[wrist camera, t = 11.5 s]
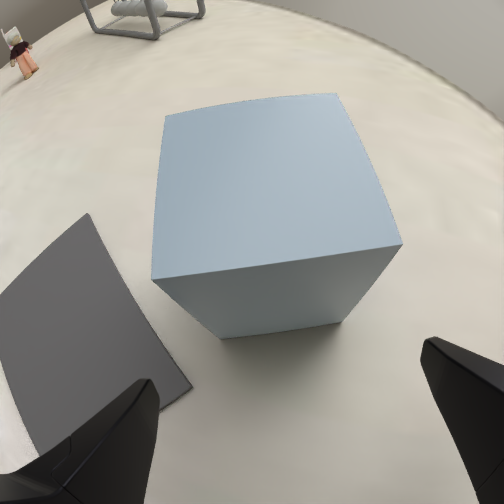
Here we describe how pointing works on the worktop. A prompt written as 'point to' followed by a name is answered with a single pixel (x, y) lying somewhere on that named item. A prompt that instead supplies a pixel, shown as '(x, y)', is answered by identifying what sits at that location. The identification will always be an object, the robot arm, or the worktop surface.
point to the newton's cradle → (143, 4)
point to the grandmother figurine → (21, 55)
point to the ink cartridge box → (9, 34)
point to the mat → (76, 338)
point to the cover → (268, 215)
